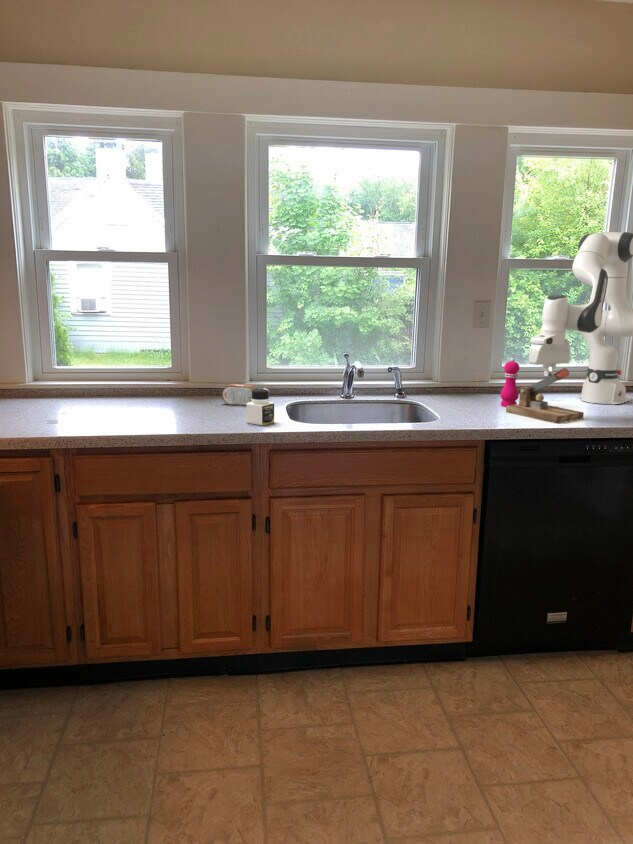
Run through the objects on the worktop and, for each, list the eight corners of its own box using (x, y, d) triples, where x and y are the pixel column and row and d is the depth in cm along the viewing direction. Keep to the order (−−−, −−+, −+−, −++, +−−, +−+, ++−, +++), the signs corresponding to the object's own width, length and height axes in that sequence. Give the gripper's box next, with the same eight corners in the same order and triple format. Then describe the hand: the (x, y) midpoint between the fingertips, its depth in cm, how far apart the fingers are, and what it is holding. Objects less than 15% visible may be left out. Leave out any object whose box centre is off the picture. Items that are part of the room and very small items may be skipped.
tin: (259, 405, 253) (259, 384, 251) (257, 407, 250) (257, 385, 248) (223, 403, 255) (223, 383, 254) (220, 405, 252) (220, 384, 250)
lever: (522, 397, 248) (519, 390, 249) (527, 396, 250) (525, 389, 251) (565, 376, 231) (561, 368, 232) (570, 375, 233) (567, 367, 234)
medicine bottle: (262, 425, 217) (262, 391, 215) (246, 423, 221) (245, 389, 218) (274, 422, 223) (274, 388, 221) (258, 419, 227) (258, 386, 224)
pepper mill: (518, 408, 256) (522, 359, 252) (500, 407, 257) (504, 358, 253) (516, 404, 263) (520, 357, 259) (498, 403, 264) (502, 356, 260)
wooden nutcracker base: (532, 408, 256) (534, 383, 254) (582, 418, 238) (585, 392, 235) (505, 412, 248) (508, 386, 246) (556, 423, 229) (558, 396, 227)
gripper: (562, 338, 244) (558, 373, 247) (527, 338, 233) (523, 375, 235) (576, 339, 239) (572, 375, 241) (542, 340, 228) (538, 378, 230)
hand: (548, 375), depth 238 cm, fingers closed, pressing on lever
